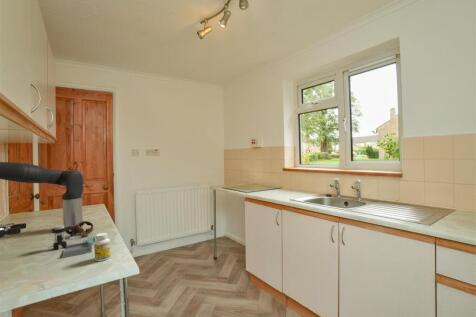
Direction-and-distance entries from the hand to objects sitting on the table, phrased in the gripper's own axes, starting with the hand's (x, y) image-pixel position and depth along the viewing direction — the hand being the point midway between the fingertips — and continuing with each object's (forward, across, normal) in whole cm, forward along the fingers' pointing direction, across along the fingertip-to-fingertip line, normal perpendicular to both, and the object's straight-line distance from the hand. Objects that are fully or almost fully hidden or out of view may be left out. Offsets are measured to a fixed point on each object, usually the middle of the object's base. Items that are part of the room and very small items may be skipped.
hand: (23, 228), depth 101 cm
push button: (+12, 0, +11) cm, 16 cm away
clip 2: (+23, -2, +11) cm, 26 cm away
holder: (+20, -9, +11) cm, 24 cm away
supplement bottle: (+29, -24, +12) cm, 39 cm away
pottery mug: (+19, +16, +11) cm, 27 cm away
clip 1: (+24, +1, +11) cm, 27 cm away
